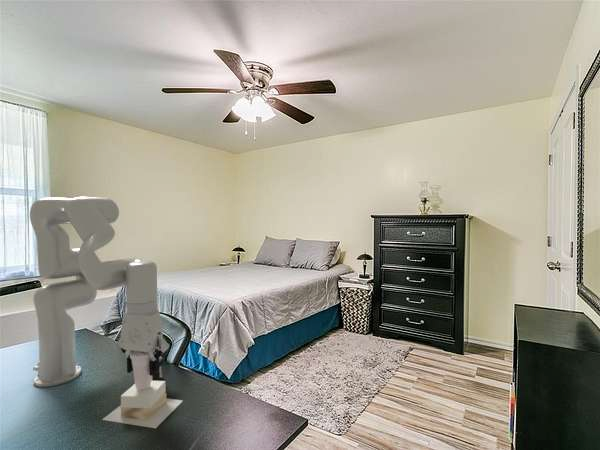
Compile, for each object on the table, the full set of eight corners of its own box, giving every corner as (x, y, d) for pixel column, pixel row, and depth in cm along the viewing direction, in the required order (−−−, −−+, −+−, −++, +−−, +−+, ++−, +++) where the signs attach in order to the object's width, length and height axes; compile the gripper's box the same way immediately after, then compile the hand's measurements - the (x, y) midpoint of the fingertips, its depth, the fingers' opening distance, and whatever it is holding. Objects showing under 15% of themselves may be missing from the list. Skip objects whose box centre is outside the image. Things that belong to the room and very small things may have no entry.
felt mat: (102, 421, 82) (101, 419, 82) (135, 395, 94) (135, 394, 94) (155, 430, 79) (155, 428, 79) (183, 402, 90) (183, 400, 90)
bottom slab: (120, 416, 83) (120, 405, 83) (142, 399, 91) (141, 389, 91) (147, 420, 82) (146, 409, 81) (166, 402, 89) (166, 392, 89)
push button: (148, 397, 93) (147, 364, 93) (138, 392, 96) (137, 359, 95) (168, 387, 98) (167, 355, 98) (158, 382, 101) (157, 351, 101)
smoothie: (129, 394, 82) (129, 342, 81) (130, 383, 88) (129, 333, 87) (156, 388, 85) (156, 337, 84) (155, 377, 90) (155, 329, 90)
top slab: (121, 407, 83) (120, 396, 82) (138, 390, 90) (138, 380, 90) (150, 408, 82) (150, 397, 82) (165, 391, 90) (165, 381, 90)
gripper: (104, 308, 84) (105, 375, 84) (161, 313, 80) (162, 382, 81) (125, 301, 91) (126, 362, 92) (178, 305, 87) (179, 368, 88)
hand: (143, 371), depth 86 cm, fingers closed on smoothie, 6 cm apart
